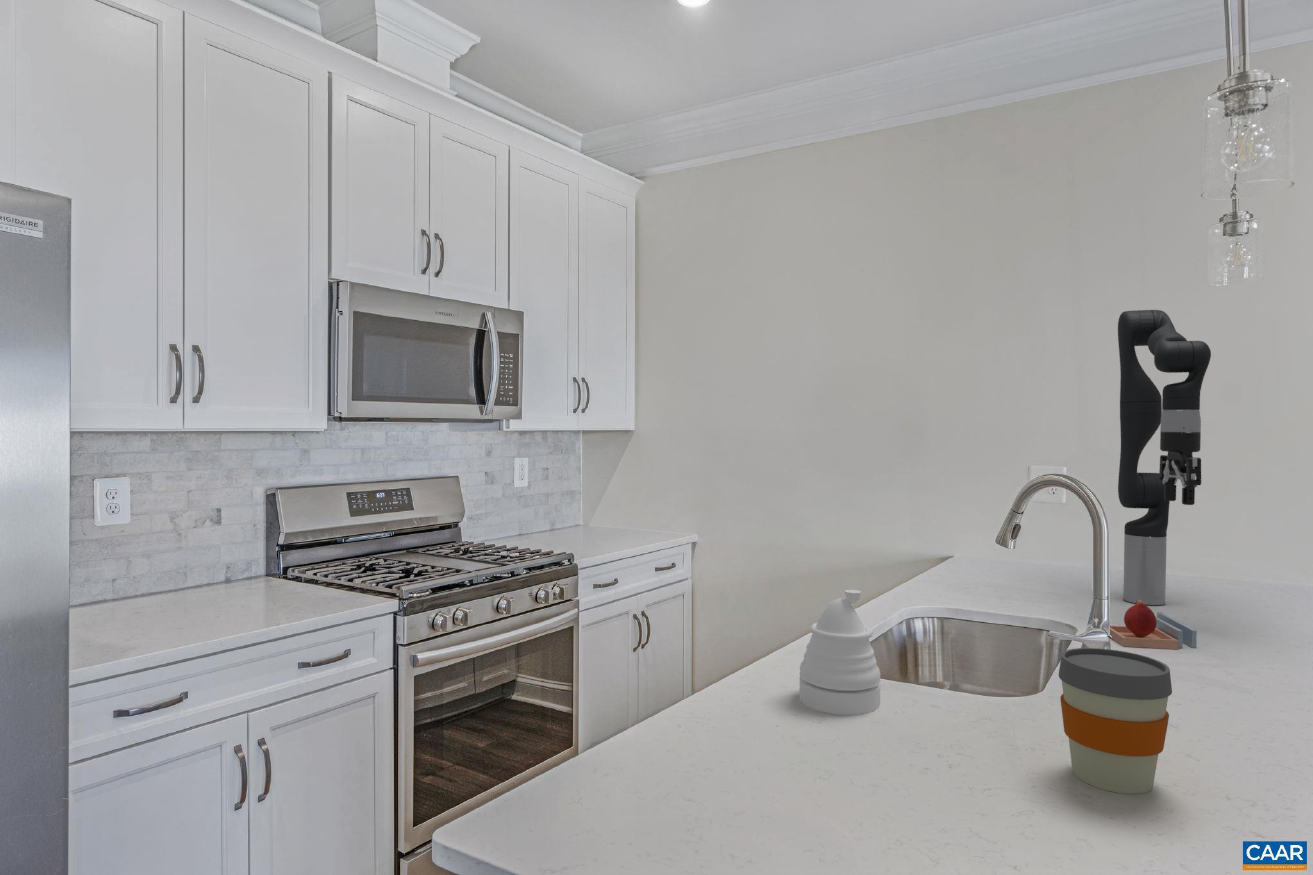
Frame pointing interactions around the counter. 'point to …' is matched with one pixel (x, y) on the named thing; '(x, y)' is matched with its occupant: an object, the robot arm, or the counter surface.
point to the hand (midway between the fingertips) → (1178, 502)
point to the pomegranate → (1140, 620)
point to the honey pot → (840, 662)
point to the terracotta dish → (1143, 639)
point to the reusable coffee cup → (1114, 716)
